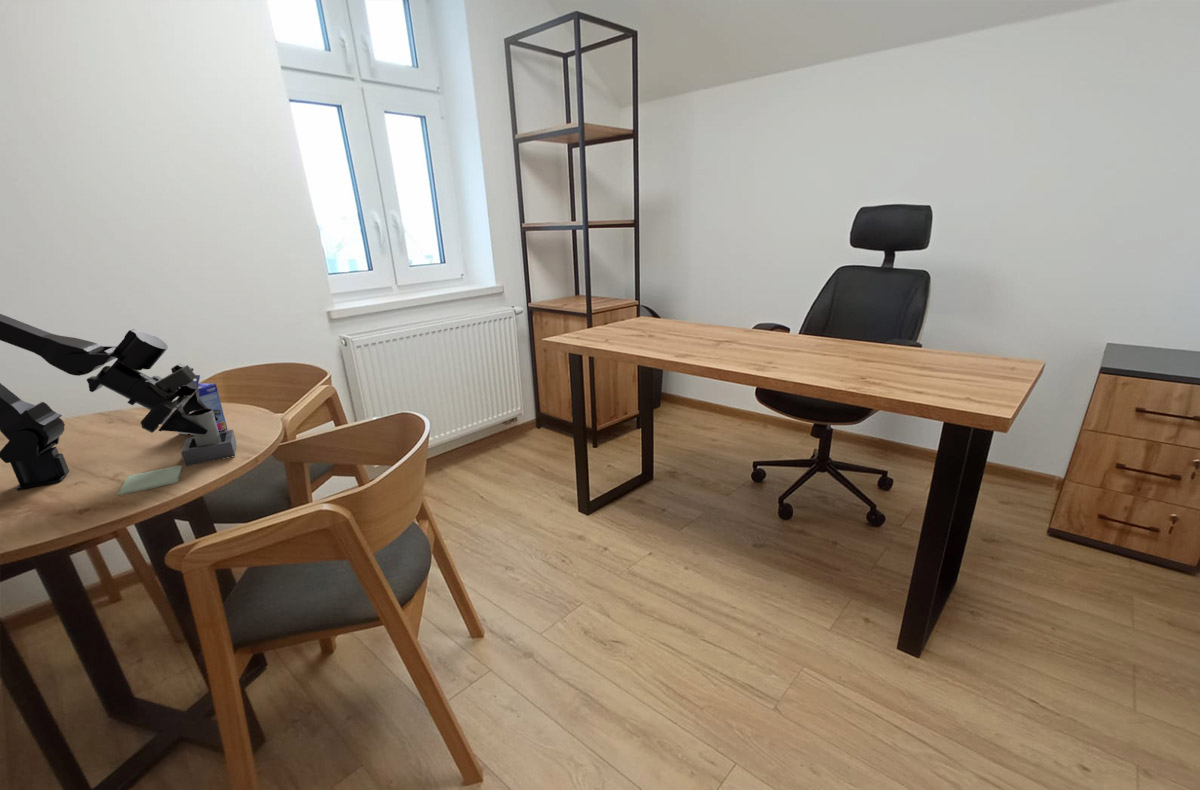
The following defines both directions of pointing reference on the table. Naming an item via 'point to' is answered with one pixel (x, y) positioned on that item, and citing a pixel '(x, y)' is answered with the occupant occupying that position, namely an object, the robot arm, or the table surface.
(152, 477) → the mat
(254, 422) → the table surface
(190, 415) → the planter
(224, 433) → the collar
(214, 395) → the ink cartridge box
